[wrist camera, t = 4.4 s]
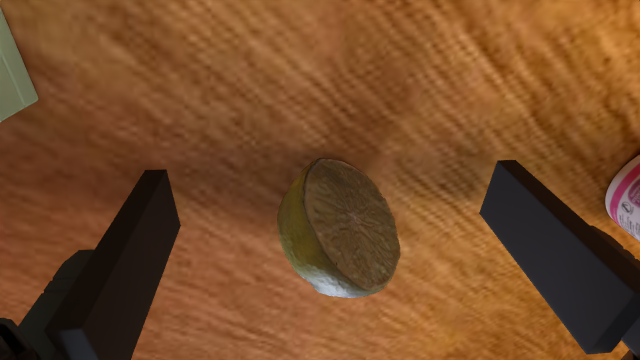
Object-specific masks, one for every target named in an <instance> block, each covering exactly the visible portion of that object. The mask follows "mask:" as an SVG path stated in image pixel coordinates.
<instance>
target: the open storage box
mask: <svg viewBox="0 0 640 360" xmlns="http://www.w3.org/2000/svg"><path fill="white" fill-rule="evenodd" d="M36 101H38V96H37V93H36V91H35V89H34V86H33V84H32V82H31V79H30V77H29V74H28V72H27V70H26V67H25V65H24V62H23V60H22V58H21V55H20V53H19V51H18V48H17V46H16V43H15V41H14V39H13V36H12V34H11V31H10V29H9V27H8V24H7V22H6V20H5V17H4V15H3V12H2V10H1V8H0V122H1V121H3V120H5V119H6V118H8V117H10V116H12V115H13V114H15V113H17V112H19V111H20V110H22V109H23V108H26V107H28V106H29V105H31V104H33V103H35V102H36Z"/></svg>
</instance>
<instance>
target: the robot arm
mask: <svg viewBox="0 0 640 360" xmlns="http://www.w3.org/2000/svg"><path fill="white" fill-rule="evenodd" d="M479 214H480V215H481V216H482V218H483V219H484V220H485V221H486V223H487V224H488V225H489V227H490V228H491V229H492V231H493V232H494V233H495V235H496V236H497V237H498V239H499V240H500V241H501V243H502V244H503V245H504V246H505V248H506V249H507V250H508V252H509V253H510V254H511V256H512V257H513V258H514V260H515V261H516V262H517V264H518V265H519V266H520V268H521V269H522V270H523V271H524V273H525V274H526V275H527V277H528V278H529V279H530V281H531V282H532V283H533V285H534V286H535V287H536V289H537V290H538V291H539V292H540V294H541V295H542V296H543V298H544V299H545V300H546V302H547V303H548V304H549V306H550V307H551V308H552V310H553V311H554V312H555V314H556V315H557V316H558V317H559V319H560V320H561V321H562V323H563V324H564V325H565V327H566V328H567V329H568V331H569V332H570V333H571V335H572V336H573V337H574V339H575V340H576V341H577V342H578V344H579V345H580V346H581V348H582V349H583V350H584V352H585V353H586V354H598V353H610V352H611V351H612V350H613V349H614V348H615V347H616V345H617V344H618V343H619V342H620V341H621V340H622V341H623V342H624V343H625V344H626V346H627V347H628V348H629V349H630V350H629V351H628V352H627V353H626V354H625V355H624V357H623V358H622V359H621V360H640V261H639V260H638V259H635V258H634V257H635V256H633V255H632V254H631V253H630V252H629V251H628V250H626V249H623V246H622V245H621V244H619V243H618V242H617V241H616V240H615V239H614V238H612V237H611V236H610V235H608V234H607V233H605V232H603V231H601V230H600V229H598V228H596V227H594V226H589V225H588V224H587V223H586V222H585V221H584V220H583V219H582V218H580V217H579V216H578V215H577V214H576V213H575V212H574V211H572V210H571V209H570V208H569V207H568V206H567V205H566V204H565V203H563V202H562V201H561V200H560V199H559V198H558V197H557V196H555V195H554V194H553V193H552V192H551V191H550V190H549V189H548V188H546V187H545V186H544V185H543V184H542V183H541V182H540V181H539V180H537V179H536V178H535V177H534V176H533V175H532V174H531V173H529V172H528V171H527V170H526V169H525V168H524V167H523V166H522V165H520V164H519V163H518V162H517V161H516V160H498V161H497V164H496V167H495V170H494V172H493V175H492V178H491V181H490V184H489V187H488V190H487V193H486V196H485V199H484V201H483V204H482V207H481V210H480V213H479ZM180 226H181V225H180V221H179V217H178V213H177V209H176V206H175V202H174V198H173V194H172V190H171V186H170V182H169V178H168V174H167V170H145V171H144V173H143V174H142V176H141V177H140V179H139V181H138V182H137V184H136V185H135V187H134V188H133V190H132V192H131V193H130V195H129V196H128V198H127V200H126V201H125V203H124V204H123V206H122V207H121V209H120V211H119V212H118V214H117V215H116V217H115V218H114V220H113V222H112V223H111V225H110V226H109V228H108V229H107V231H106V233H105V234H104V236H103V237H102V239H101V241H100V242H99V244H98V245H97V247H96V248H95V250H79V251H78V252H76V253H75V254H74V255H73V256H71V257H70V258H69V259H68V260H66V261H65V262H64V263H63V264H62V265H61V267H60V268H59V270H58V271H57V272H56V274H55V275H54V277H53V280H52V281H50V282H49V284H48V285H47V286H46V288H45V289H44V293H41V295H40V296H39V298H38V299H37V301H36V302H35V303H34V305H33V306H32V308H31V309H30V310H29V312H28V313H27V315H26V316H25V317H24V319H23V320H22V322H21V323H20V325H19V326H18V327H17V325H16V324H15V323H14V322H13V321H12V320H10V319H6V318H0V360H131V357H132V355H133V352H134V349H135V347H136V344H137V341H138V339H139V336H140V333H141V331H142V328H143V325H144V323H145V320H146V317H147V315H148V312H149V309H150V306H151V304H152V301H153V298H154V296H155V293H156V290H157V288H158V285H159V282H160V280H161V277H162V274H163V272H164V269H165V266H166V264H167V261H168V258H169V256H170V253H171V250H172V248H173V245H174V242H175V240H176V237H177V234H178V232H179V229H180Z"/></svg>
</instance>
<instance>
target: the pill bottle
mask: <svg viewBox="0 0 640 360" xmlns="http://www.w3.org/2000/svg"><path fill="white" fill-rule="evenodd" d="M605 204H606V209H607V212H608V214H609V216H610V217H611V218H612V219H613V220H614V221H615V222H616V223H617V224H618V225H619V226H620V227H622V228H623V229H624V230H625V231H627V232H628V233H629V234H630V235H632V236H633V237H634V238H636V239H637V240H638V241H639V242H640V155H638V156H637V157H635V158H634V159H633V160H631V161H630V162H629V163H628V164H626V165H625V166H624V167H623V168H622V169H621V170H620V171H619V172H618V174H617V175H616V176H615V177H614V179H613V180H612V182H611V184H610V186H609V188H608V190H607V193H606V198H605Z"/></svg>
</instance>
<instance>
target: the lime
mask: <svg viewBox="0 0 640 360" xmlns="http://www.w3.org/2000/svg"><path fill="white" fill-rule="evenodd" d="M277 223H278V230H279V238H280V242H281V245H282V248H283V250H284V253H285V255H286V256H287V258H288V260H289V261H290V263H291V265H292V267H293V269H294V270H295V271H296V272H297V274H299V275H300V276H301V277H303V278H305V279H306V280H308V281H309V282H310V283H311V285H312V286H313V287H314V288H315V290H317V291H318V292H320V293H322V294H325V295H329V296H335V297H338V296H339V297H345V298H348V297H349V298H354V297H355V298H357V297H365V296H368V295H370V294H374V293H376V292H379V291H381V290H382V289H383V288H384V287H385V286H386V285H387V284H388V283H389V281H390V280H391V279H392V276H393V274H394V271H395V270H396V266H397V263H398V260H399V258H400V245H399V240H398V238H397V231H396V227H395V220H394V217H393V215H392V213H391V212H390V209H389V207H388V204H387V202H386V199H385V198H383V197H382V194H381V193H380V192H379V189H378V187H377V186H376V185H375V184H374V183H373V182H372V180H371V179H369V178H368V177H367V176H366V175H364V174H363V173H361V172H360V171H359V170H357V169H356V168H355V167H353V166H351V165H349V164H347V163H344V162H343V161H339V160H332V159H327V160H325V159H323V158H320V159H317V160H316V161H314V162H312V163H311V164H310V165H308V166H307V167H306V168H305V169H304V170H303V171H302V173H300V174H299V176H298V177H297V178H296V179H295V180H294V181H293V183H292V184H291V186H290V187H289V189H288V191H287V192H286V194H285V196H284V198H283V200H282V202H281V204H280V207H279V211H278V219H277Z"/></svg>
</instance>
